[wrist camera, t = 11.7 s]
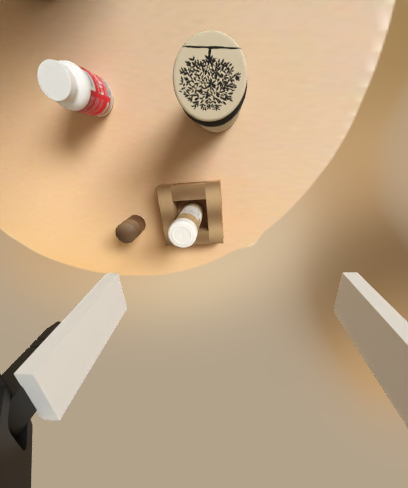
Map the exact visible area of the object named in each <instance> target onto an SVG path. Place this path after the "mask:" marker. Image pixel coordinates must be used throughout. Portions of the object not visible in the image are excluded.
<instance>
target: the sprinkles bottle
mask: <svg viewBox="0 0 408 488" xmlns="http://www.w3.org/2000/svg"><path fill="white" fill-rule="evenodd" d="M203 214H204V211H203V208H202V206H201V205H200V204H199V203H197V202H189V203H187V204H186V205H185V206H184V208H183V209H182V211H181V212H180V214H179V215H178V217H177V218H176V220H175V221H174V222H173V223H172V224H171V226H170V227H169V230H168V237H169V239H170V241H171V242H172V243H173V244H174V245H175V246H177V247H181V248H186V247H189V246H191V245H192V244H193V243H194V242H195V240H196V237H197V234H198V228H199V226H200V223H201V220H202V217H203Z"/></svg>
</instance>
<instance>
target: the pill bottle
mask: <svg viewBox="0 0 408 488" xmlns="http://www.w3.org/2000/svg"><path fill="white" fill-rule="evenodd" d="M37 78H38V83H39V86H40V88H41V90H42V91H43V93H44V94H45V95H46V96H47V97H49V98H50V99H52V100H54V101H56V102H57V103H58V104H60V105H61V106H62V107H64V108H66V109H68V110H71V111H75V112H79V113H84V114H88V115H92V116H97V117H102V116H105V115H107V114H108V113H109V112H110V111H111V109H112V106H113V94H112V91H111V88H110V87H109V85H108V84H107V83H106V82H105V81H104V80H103V79H102V78H100V77H98V76H97V75H95V74H93V73H91V72H89V71H87V70H86V69H84V68H82V67H80V66H78V65H76V64H74V63H72V62H70V61H67V60H60V61H56V60H52V59H48V60H45V61H43V62H42V63H41V64H40V65H39V68H38V71H37Z"/></svg>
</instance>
